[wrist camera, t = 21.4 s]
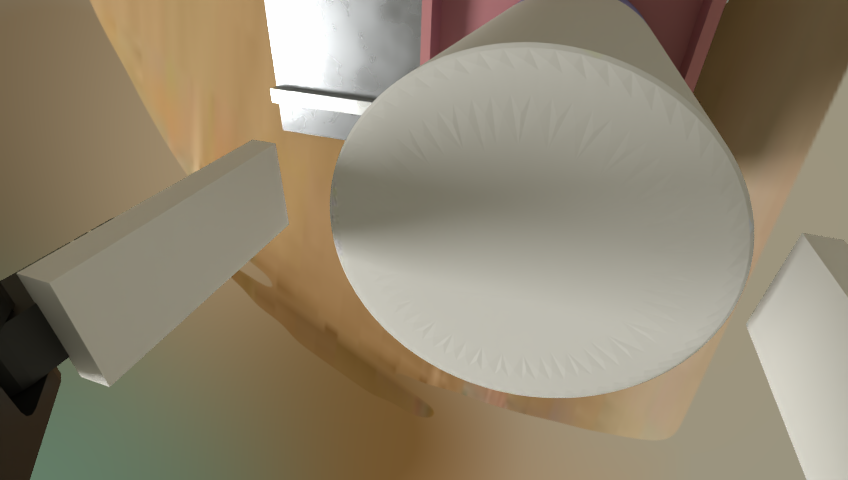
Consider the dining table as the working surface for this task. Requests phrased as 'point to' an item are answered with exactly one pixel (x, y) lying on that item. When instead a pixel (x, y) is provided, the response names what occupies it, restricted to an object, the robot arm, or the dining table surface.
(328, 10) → the track
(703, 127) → the container
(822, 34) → the dining table surface
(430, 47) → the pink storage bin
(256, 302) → the dining table surface
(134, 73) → the dining table surface
